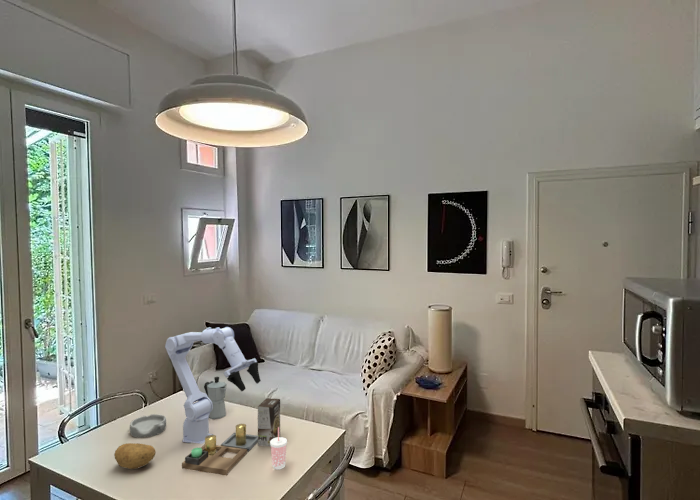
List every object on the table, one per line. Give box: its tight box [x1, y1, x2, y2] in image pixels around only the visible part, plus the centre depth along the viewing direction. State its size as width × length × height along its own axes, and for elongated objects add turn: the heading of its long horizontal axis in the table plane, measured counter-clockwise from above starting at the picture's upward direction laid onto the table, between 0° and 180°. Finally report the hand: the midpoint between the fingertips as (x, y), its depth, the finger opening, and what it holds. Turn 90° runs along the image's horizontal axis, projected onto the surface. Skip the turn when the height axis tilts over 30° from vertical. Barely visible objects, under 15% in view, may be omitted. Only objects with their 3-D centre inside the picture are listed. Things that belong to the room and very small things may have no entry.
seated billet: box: [204, 434, 217, 456], centre depth 148 cm, size 4×4×7 cm
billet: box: [235, 423, 247, 446], centre depth 156 cm, size 4×4×7 cm
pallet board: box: [181, 443, 248, 477], centre depth 144 cm, size 18×14×4 cm
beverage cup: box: [270, 427, 288, 470], centre depth 141 cm, size 6×6×14 cm
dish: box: [129, 413, 167, 439], centre depth 168 cm, size 14×14×5 cm
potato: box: [113, 442, 157, 470], centre depth 141 cm, size 10×14×8 cm
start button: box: [190, 447, 202, 458], centre depth 141 cm, size 4×4×2 cm
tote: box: [220, 432, 258, 453], centre depth 156 cm, size 12×10×2 cm
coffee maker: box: [203, 376, 228, 420], centre depth 184 cm, size 15×9×18 cm, turn 59°
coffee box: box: [257, 397, 281, 448], centre depth 158 cm, size 9×6×16 cm
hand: (251, 386), depth 148 cm, fingers open, 7 cm apart
